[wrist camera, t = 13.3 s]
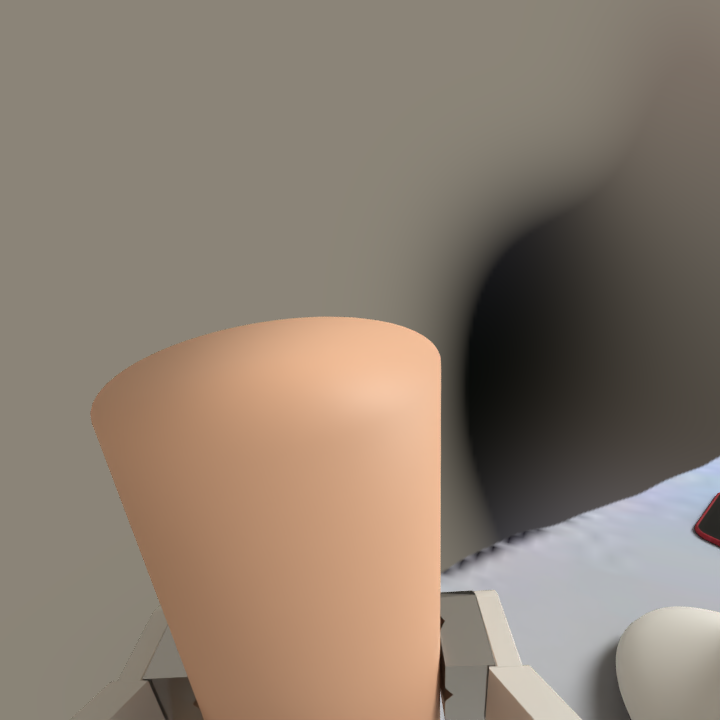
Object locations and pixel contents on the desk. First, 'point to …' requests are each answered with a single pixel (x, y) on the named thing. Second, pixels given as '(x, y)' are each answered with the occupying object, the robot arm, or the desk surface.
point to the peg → (289, 513)
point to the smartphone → (710, 522)
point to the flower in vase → (671, 665)
